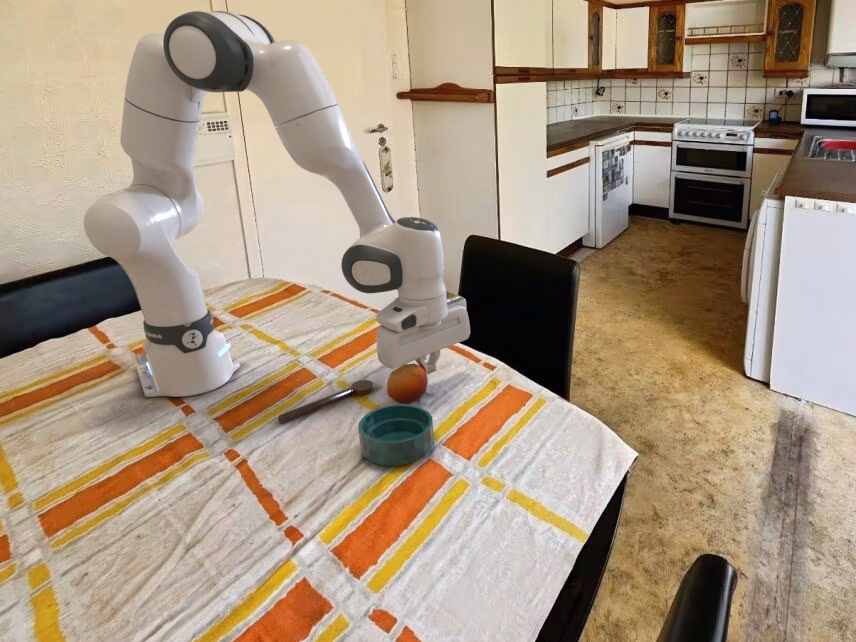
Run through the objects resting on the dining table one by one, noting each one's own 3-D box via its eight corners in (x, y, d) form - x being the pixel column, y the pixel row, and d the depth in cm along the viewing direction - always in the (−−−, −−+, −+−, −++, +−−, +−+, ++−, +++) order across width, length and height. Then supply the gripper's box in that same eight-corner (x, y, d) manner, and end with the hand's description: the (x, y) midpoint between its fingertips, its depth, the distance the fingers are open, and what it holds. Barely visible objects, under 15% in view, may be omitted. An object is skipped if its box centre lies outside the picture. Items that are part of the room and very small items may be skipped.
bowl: (347, 447, 106) (344, 422, 104) (405, 420, 114) (403, 397, 111) (389, 478, 99) (386, 452, 96) (448, 447, 106) (447, 422, 104)
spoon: (273, 419, 114) (271, 412, 113) (366, 382, 127) (365, 375, 126) (284, 428, 111) (283, 421, 111) (378, 390, 124) (377, 383, 123)
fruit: (431, 404, 116) (406, 370, 113) (398, 419, 119) (374, 386, 116) (443, 383, 123) (420, 351, 120) (412, 398, 126) (389, 367, 123)
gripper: (454, 289, 125) (457, 351, 131) (368, 317, 112) (376, 384, 118) (475, 296, 121) (478, 360, 127) (389, 326, 108) (396, 396, 115)
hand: (428, 372), depth 123 cm, fingers closed
